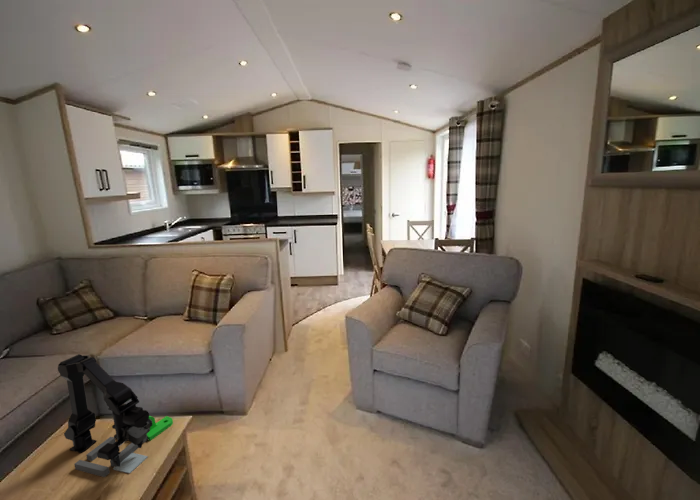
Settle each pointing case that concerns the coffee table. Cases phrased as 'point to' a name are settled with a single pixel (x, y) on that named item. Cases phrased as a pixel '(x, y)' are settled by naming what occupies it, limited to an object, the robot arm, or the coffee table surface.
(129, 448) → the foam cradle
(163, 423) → the mechanical part
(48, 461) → the coffee table surface
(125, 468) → the felt pad
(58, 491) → the coffee table surface
